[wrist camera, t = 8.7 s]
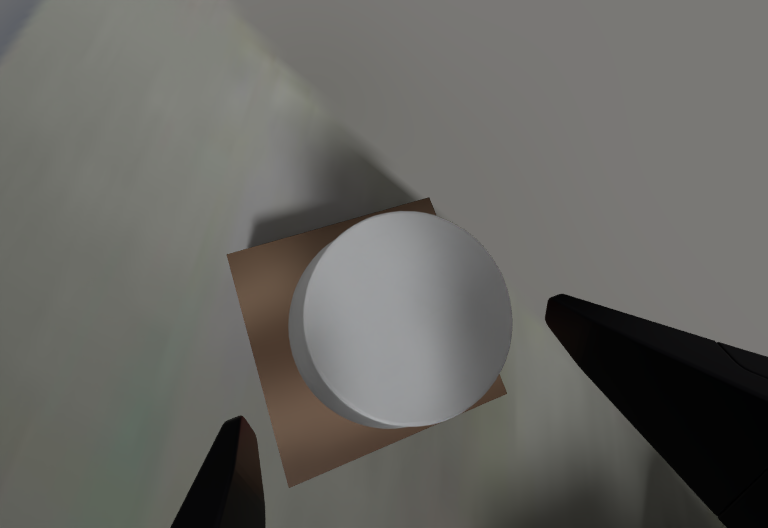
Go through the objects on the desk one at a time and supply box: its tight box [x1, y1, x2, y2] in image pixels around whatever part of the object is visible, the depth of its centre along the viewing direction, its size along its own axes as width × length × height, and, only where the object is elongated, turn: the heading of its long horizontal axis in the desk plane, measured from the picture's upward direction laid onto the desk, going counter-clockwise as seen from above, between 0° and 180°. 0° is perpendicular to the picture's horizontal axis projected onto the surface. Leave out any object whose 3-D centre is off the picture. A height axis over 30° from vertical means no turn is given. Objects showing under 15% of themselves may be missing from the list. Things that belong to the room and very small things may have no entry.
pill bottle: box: [288, 211, 512, 429], centre depth 12 cm, size 6×6×11 cm
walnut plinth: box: [227, 198, 507, 488], centre depth 19 cm, size 12×12×3 cm
